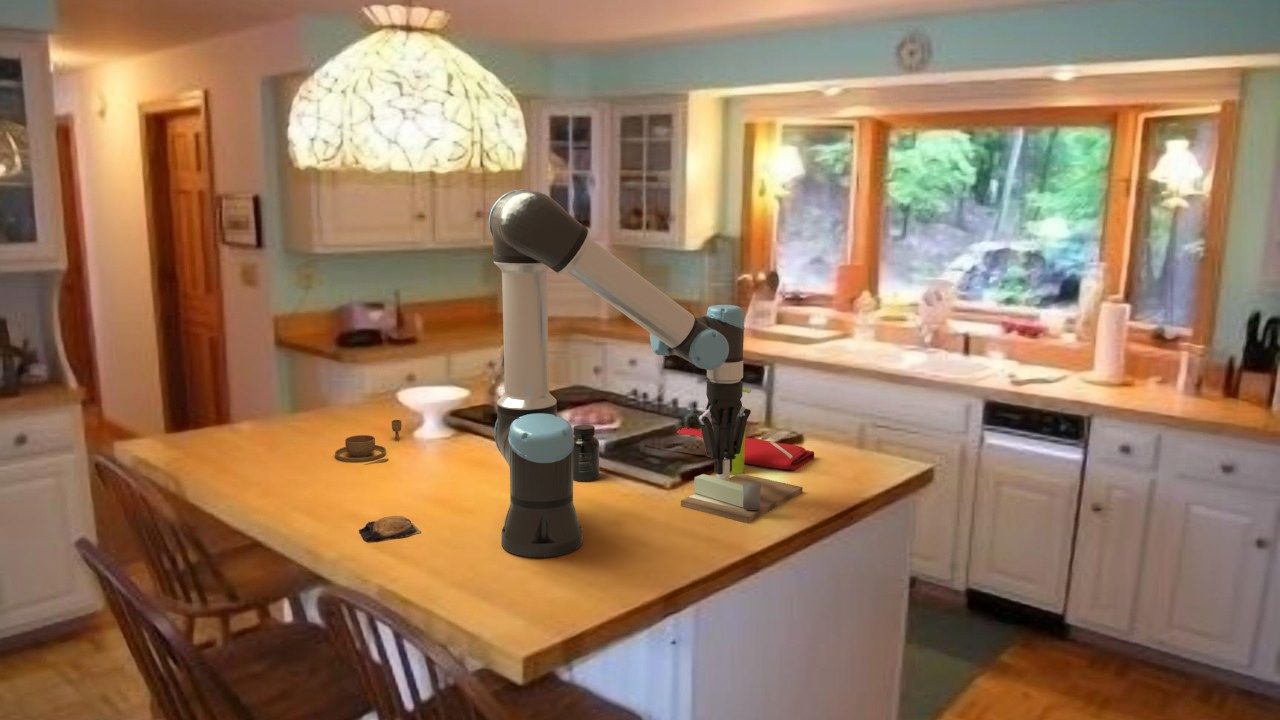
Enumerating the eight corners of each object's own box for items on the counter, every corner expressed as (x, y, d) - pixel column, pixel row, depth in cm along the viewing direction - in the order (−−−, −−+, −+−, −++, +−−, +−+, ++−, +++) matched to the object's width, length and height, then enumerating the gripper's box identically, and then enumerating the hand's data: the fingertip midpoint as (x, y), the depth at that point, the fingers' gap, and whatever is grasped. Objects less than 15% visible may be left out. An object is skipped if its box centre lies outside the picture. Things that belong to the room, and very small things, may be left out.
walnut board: (747, 523, 188) (747, 516, 188) (680, 505, 197) (680, 500, 197) (802, 492, 207) (802, 486, 207) (739, 478, 216) (739, 472, 216)
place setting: (323, 453, 233) (322, 430, 232) (399, 440, 246) (398, 418, 244) (350, 470, 220) (349, 446, 219) (429, 456, 232) (428, 433, 231)
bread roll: (409, 523, 187) (408, 506, 187) (423, 537, 180) (423, 518, 180) (355, 533, 182) (354, 514, 181) (367, 547, 175) (367, 528, 174)
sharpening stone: (763, 507, 193) (764, 484, 192) (753, 511, 190) (753, 488, 190) (704, 489, 204) (704, 467, 203) (693, 493, 201) (693, 471, 200)
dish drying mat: (672, 434, 254) (672, 421, 254) (815, 460, 233) (815, 445, 232) (641, 448, 241) (641, 434, 241) (789, 476, 220) (790, 461, 219)
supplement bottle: (604, 475, 217) (604, 425, 215) (590, 484, 211) (590, 432, 209) (578, 471, 220) (578, 421, 218) (563, 479, 214) (563, 428, 211)
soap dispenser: (747, 475, 218) (750, 391, 215) (717, 473, 220) (719, 389, 216) (749, 468, 224) (752, 386, 220) (720, 466, 225) (722, 384, 222)
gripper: (737, 373, 203) (735, 477, 207) (688, 379, 196) (687, 488, 200) (760, 379, 197) (757, 487, 201) (711, 386, 190) (709, 498, 194)
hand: (722, 487), depth 201 cm, fingers closed
